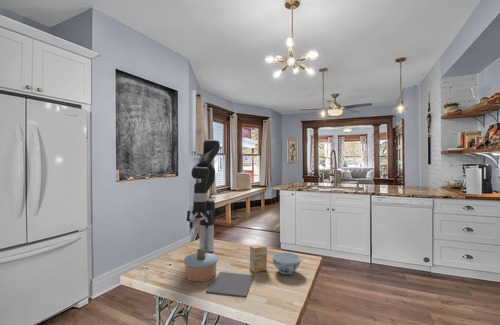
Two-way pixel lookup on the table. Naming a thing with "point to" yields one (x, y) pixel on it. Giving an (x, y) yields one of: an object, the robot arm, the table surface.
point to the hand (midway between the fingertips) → (199, 228)
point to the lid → (200, 259)
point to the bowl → (200, 273)
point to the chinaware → (286, 262)
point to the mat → (231, 284)
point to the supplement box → (258, 258)
